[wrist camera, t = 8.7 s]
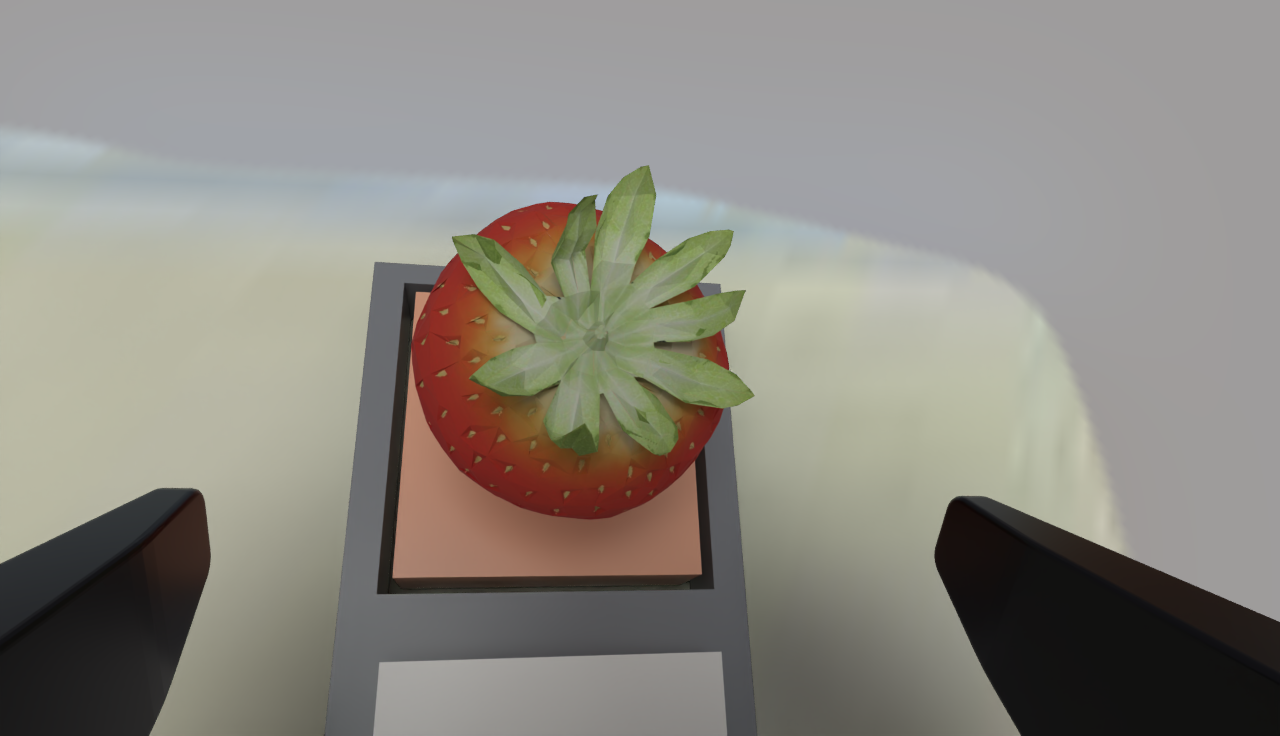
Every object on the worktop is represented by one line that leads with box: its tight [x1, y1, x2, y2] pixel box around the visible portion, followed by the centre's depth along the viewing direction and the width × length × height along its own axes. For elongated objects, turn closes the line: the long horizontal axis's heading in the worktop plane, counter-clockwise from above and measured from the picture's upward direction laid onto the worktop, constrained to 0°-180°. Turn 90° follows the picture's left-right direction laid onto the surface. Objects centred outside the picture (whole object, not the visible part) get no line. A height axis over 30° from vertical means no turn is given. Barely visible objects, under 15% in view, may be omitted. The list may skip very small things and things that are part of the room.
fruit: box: [411, 166, 754, 520], centre depth 13 cm, size 5×5×8 cm
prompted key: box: [392, 292, 702, 589], centre depth 18 cm, size 6×6×2 cm
